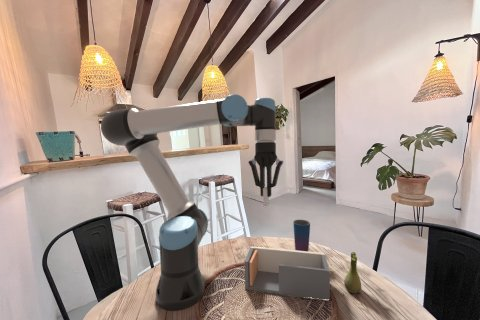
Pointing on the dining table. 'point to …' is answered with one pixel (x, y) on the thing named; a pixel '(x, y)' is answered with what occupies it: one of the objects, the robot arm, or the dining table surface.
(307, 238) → the cup
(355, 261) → the fennel bulb
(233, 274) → the dining table surface
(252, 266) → the box door
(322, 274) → the storage box
